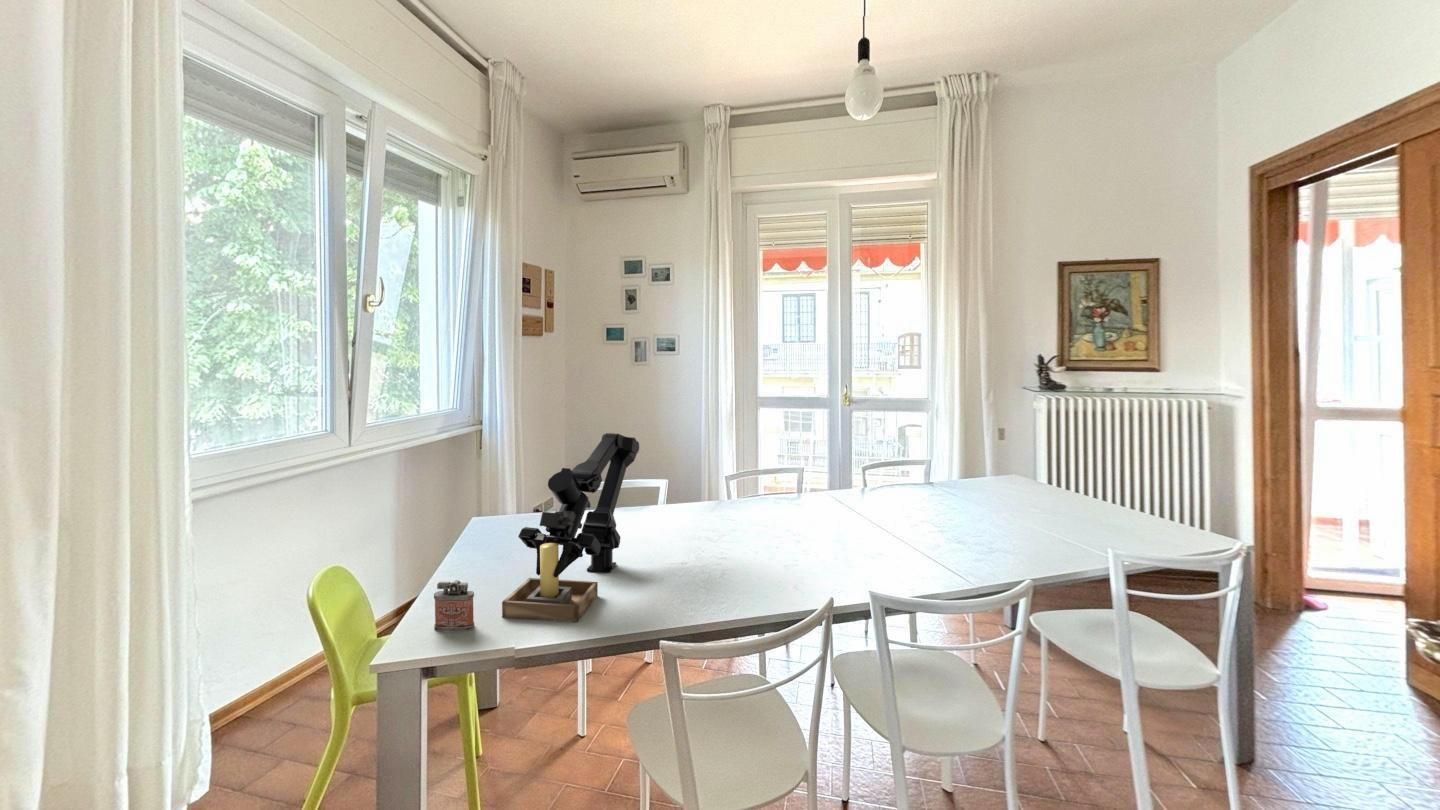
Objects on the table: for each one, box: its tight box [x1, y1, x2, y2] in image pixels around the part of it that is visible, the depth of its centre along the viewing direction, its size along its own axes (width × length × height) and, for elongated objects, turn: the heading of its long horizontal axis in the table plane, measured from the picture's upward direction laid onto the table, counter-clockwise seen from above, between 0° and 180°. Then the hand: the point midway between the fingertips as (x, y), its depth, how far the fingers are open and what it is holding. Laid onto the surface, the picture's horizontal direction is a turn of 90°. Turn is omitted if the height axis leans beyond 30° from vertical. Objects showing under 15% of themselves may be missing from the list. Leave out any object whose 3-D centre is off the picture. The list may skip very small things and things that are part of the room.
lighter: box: [433, 579, 475, 632], centre depth 121 cm, size 8×3×10 cm, turn 92°
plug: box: [539, 543, 560, 598], centre depth 131 cm, size 4×4×13 cm
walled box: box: [501, 577, 599, 623], centre depth 133 cm, size 14×17×4 cm
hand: (546, 575), depth 130 cm, fingers closed on plug, 4 cm apart
